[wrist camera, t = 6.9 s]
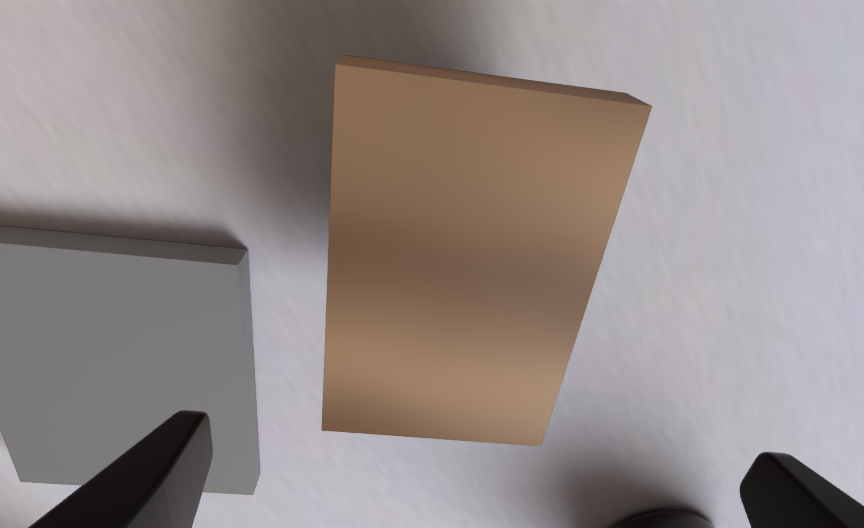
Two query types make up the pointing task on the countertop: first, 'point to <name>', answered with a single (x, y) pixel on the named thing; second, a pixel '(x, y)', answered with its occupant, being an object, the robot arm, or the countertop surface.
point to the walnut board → (464, 245)
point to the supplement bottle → (666, 520)
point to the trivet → (123, 352)
